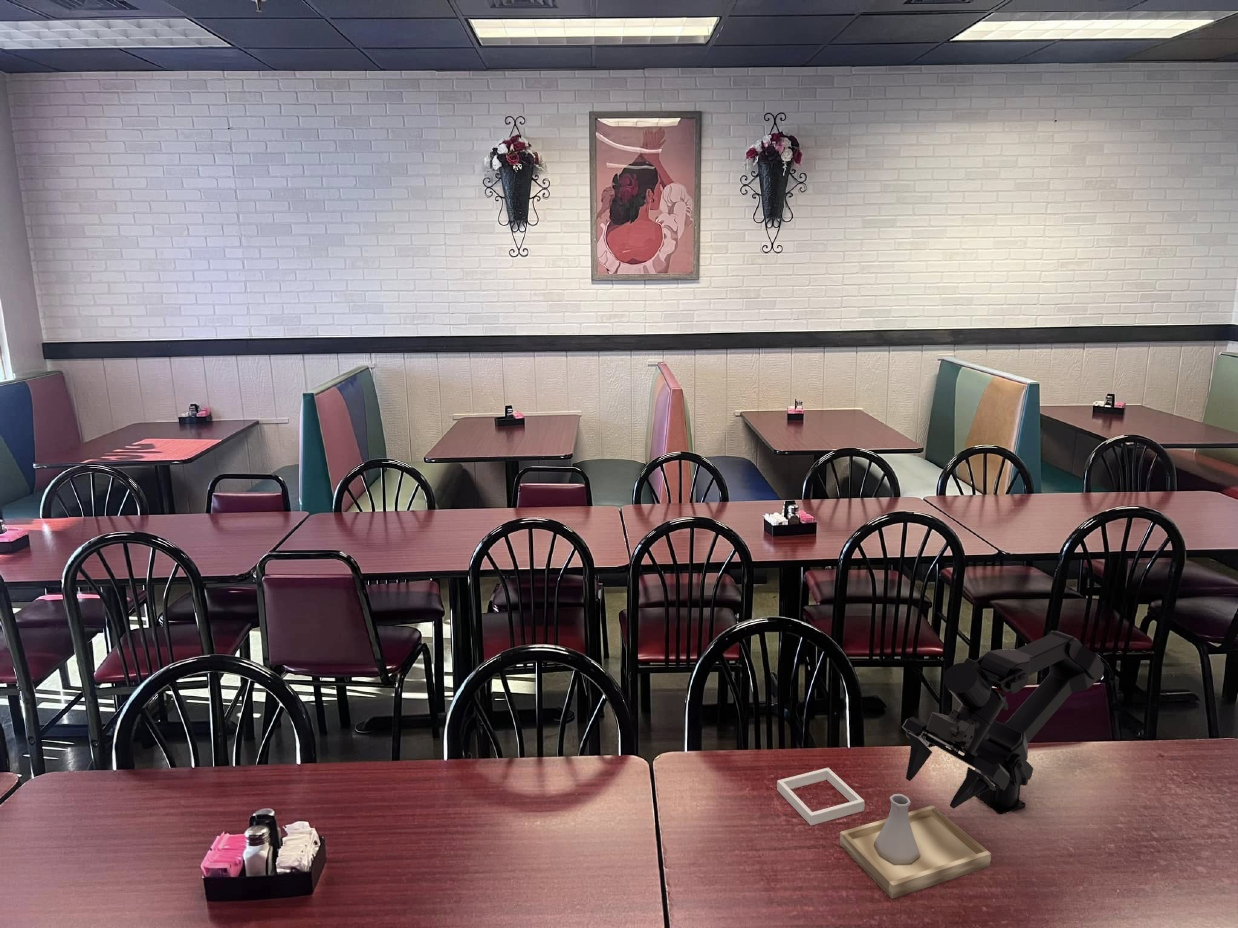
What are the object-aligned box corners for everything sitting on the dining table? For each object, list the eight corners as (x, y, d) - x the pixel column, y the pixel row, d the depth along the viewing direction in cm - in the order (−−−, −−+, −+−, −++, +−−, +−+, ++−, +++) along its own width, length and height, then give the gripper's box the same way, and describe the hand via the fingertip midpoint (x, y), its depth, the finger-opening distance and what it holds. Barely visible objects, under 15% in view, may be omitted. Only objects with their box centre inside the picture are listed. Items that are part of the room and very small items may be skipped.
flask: (928, 859, 139) (932, 806, 137) (892, 870, 136) (896, 816, 134) (900, 832, 145) (903, 782, 143) (865, 842, 143) (868, 791, 141)
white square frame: (827, 776, 164) (828, 767, 163) (864, 810, 153) (864, 800, 153) (777, 789, 160) (777, 780, 160) (810, 825, 149) (811, 815, 149)
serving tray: (931, 817, 151) (932, 805, 151) (989, 866, 138) (991, 853, 138) (839, 844, 144) (840, 831, 144) (891, 898, 131) (892, 885, 131)
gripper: (911, 675, 150) (866, 748, 147) (1004, 720, 134) (955, 803, 131) (938, 702, 155) (894, 773, 152) (1030, 749, 140) (983, 829, 137)
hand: (928, 792), depth 143 cm, fingers open, 9 cm apart
